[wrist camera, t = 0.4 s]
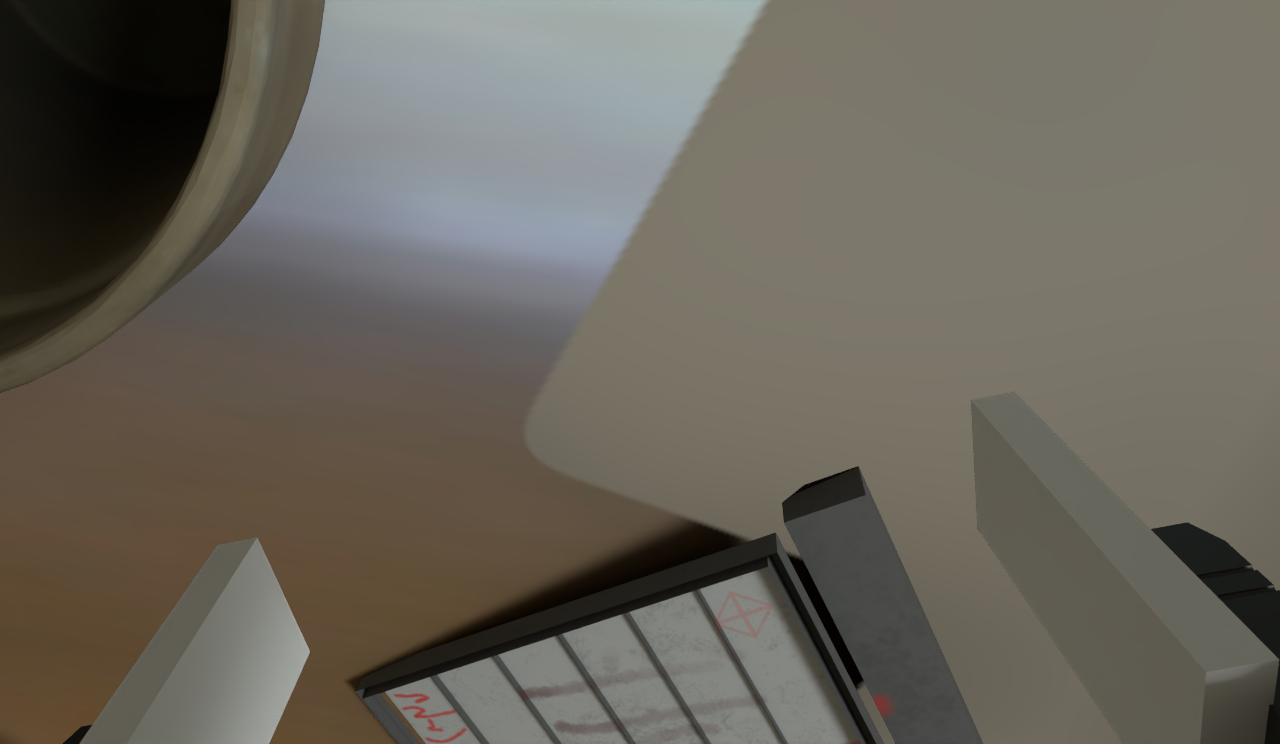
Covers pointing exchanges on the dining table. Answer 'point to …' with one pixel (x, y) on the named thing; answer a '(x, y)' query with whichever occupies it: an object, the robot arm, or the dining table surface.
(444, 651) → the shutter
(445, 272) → the dining table surface
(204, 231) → the plant pot
